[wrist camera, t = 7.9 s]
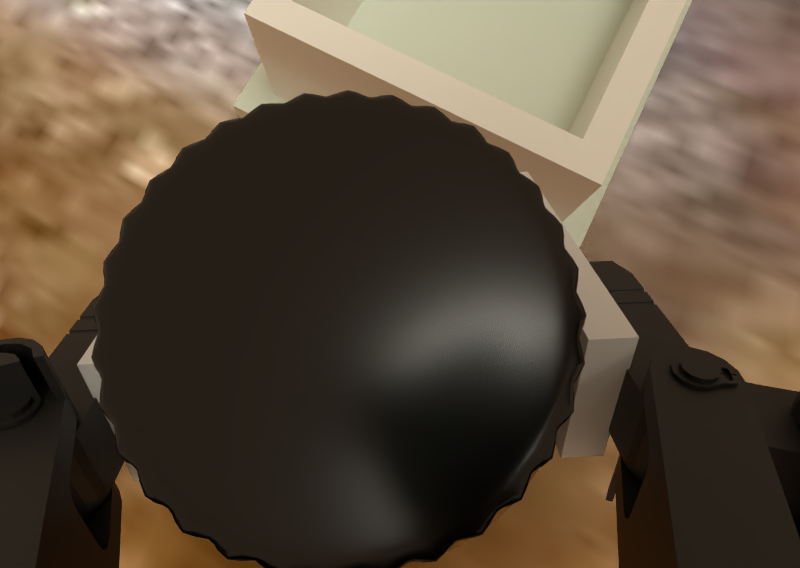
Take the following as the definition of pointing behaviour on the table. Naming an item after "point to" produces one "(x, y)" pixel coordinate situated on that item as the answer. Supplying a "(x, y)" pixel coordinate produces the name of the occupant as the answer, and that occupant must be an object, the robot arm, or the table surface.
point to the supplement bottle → (339, 334)
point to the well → (484, 73)
